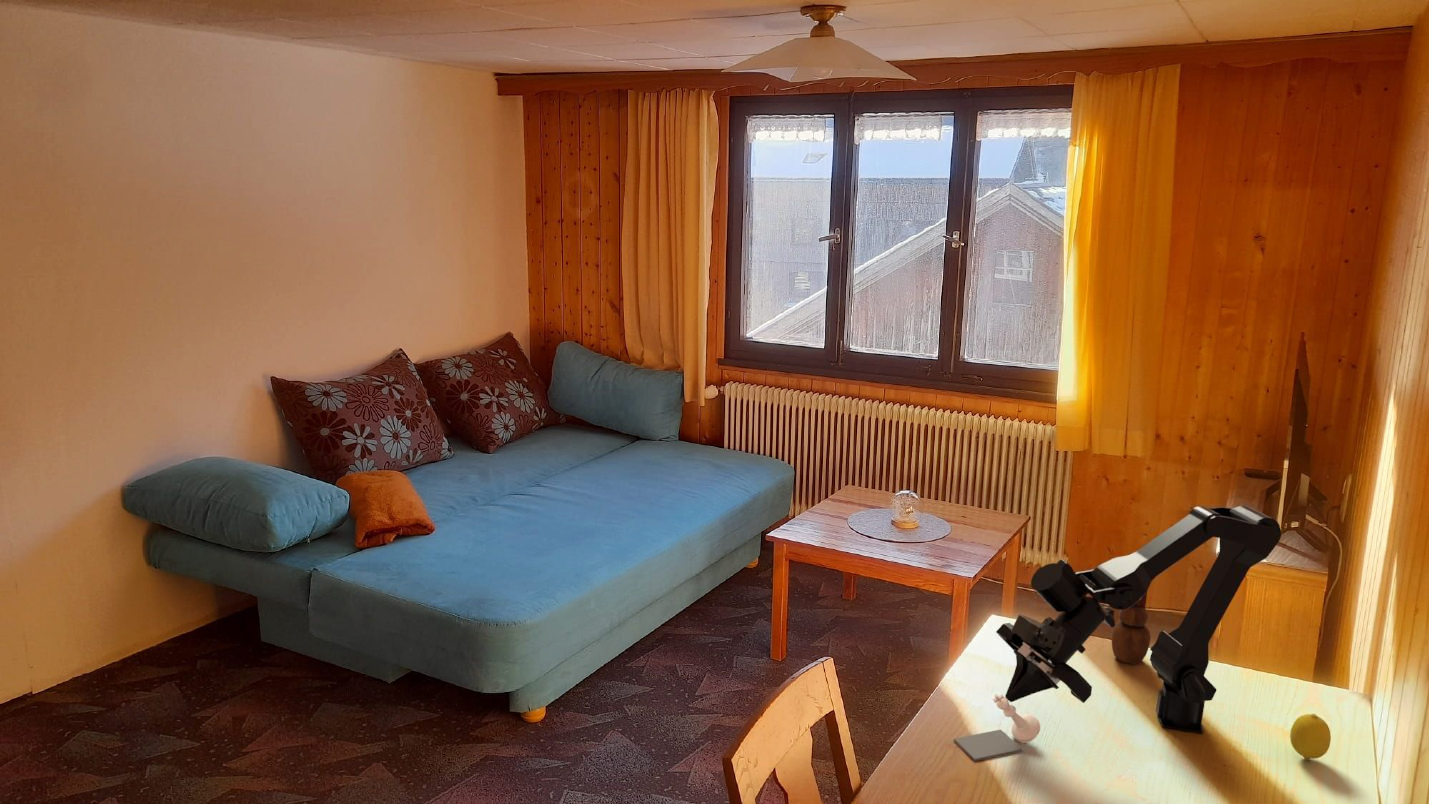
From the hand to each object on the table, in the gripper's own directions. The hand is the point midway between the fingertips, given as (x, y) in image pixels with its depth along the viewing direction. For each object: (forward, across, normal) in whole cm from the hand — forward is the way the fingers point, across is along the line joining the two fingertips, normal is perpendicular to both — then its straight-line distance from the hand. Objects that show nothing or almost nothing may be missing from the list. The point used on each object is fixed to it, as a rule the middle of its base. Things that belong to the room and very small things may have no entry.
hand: (1007, 699), depth 163 cm
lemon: (-26, +19, +37) cm, 49 cm away
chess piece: (+1, 0, +8) cm, 8 cm away
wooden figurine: (-23, -17, +34) cm, 44 cm away
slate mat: (+8, 0, +3) cm, 8 cm away
